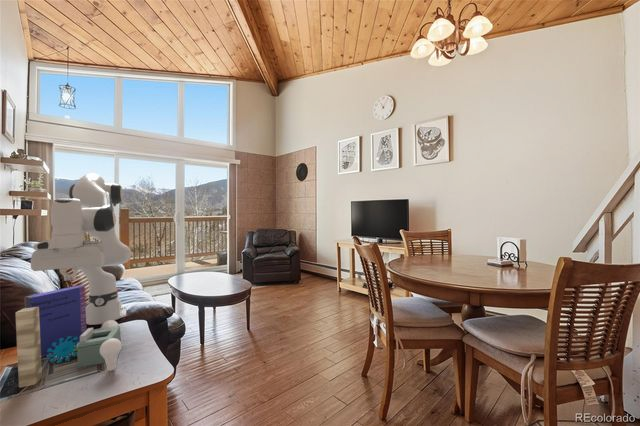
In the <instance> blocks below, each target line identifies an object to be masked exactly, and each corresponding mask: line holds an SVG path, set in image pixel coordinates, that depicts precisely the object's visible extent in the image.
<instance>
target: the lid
mask: <svg viewBox="0 0 640 426" xmlns="http://www.w3.org/2000/svg"><path fill="white" fill-rule="evenodd" d="M119 331H120V332H121V326H118V327H115V328H109V329H103V330H100V329H97V330H94V327H88V328H87V330H86V331H85V332H84V333H83V334H82V335H81V336H80V342H79V343H78V344H76V346H77V348H79V347H84V346H90V345H96V344H101V343H104V342H105V341H106V340H108V339H111V338H114V337H115V336H116V335H117V333H118V332H119ZM106 334H109V335H108V336H106V337H101V338H95V339H92V338H93V337H94V336H100V335H106Z"/></svg>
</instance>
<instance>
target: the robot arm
mask: <svg viewBox="0 0 640 426" xmlns="http://www.w3.org/2000/svg"><path fill="white" fill-rule="evenodd" d="M124 195H125V192H124V189H123V187H122V185H120V184H118V183H114V182H111V183H107V182H105V180H104V178H103V177H102V176H101V175H99V174H96V173H88V174H87V173H86V174H84V175H83V176H81V177H80V178H79V179H78V180H77V182H75V183H74V184H71V186H70V187H69V190H68V198H67V197H66V198H65V197H64V198H56V199H55V200H53V201H52V203H51V210H50V224H51V226H52V231H51V238H50V239H46V240H44V241H41V242H37V243H34V244H33V246H32V247H33V250H35V251H33V252H32V253H31V257H30V269H31V271H33V272H40V271H49V270H51V271H52V270H59V273H60V275H61V276H62V277H63V281H64V282H68V281H76V280H77V275H78V273H79V271H80V272H82V273H83V274H84V275H85V277H86V279H87V281H88V288H89V289H88V290H89V295H88V304H87V305H86V325H89V326H90V325H91V326H92V325H95V326H96V325H103V323H105V322H106V321H108V320H113V321H116V320H119V319H122V318H124V317H125V318H126V316H127V311H126V309H127V308H126V309H123V308H124V307H123V306H122V305H123V304H122V300H121V299H120V298H119V293H118V292H119V290H118V289H117V280H116V279H117V278H116V276H115V275H114V274H113V273H110V272H107V271H104V269H103V268H102V267H110V266H111V267H113V266H118V265H122V264H126V263H128V262H129V261H130V260H131V258H132V257H131V256H132V251H131V248H130V247H129V246H128V245H126V244H125V243H123V242H122V241H120V239H119V238H118V236H117V234H116V227H115V226H116V222H117V216H116V214H115V211H114V207H116V206H117V205H118V204H120V203H121V202H122V201H123V199H124ZM82 206H83V207H82ZM85 233H88V235H89V236H90V237H91V238H93V239H96V240H85ZM99 240H100V241H99ZM68 269H72V271H73V273H72V274H68V273H67V271H68Z"/></svg>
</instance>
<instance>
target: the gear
mask: <svg viewBox="0 0 640 426" xmlns="http://www.w3.org/2000/svg"><path fill="white" fill-rule="evenodd" d="M71 338H72V336H68V337H67V339H66V341H65V342H63V343H62V341H64V338H60V339H59V341H60V343H59V345H58V346H56V345H57V343H56V342H54V343H52V346H54V347H55V350H52V349H51V348H49V349H48V350H47V352H48V353H49V352H53V353H51V354H48V355H46V358H47V359H49V361H50V362H51V364H53V363H55V362H56V364H62V363H63V360H64V361H65V362H70V361H71V358H70V355H71V354H72V357H73V358H75V357H77V344H78V343H79V342H80V341H78V342H74V343H72V342H73V341H77V340H78V338H77V337H74V339H72V340H71V341H68V340H70V339H71ZM75 344H76V345H75ZM64 358H65V359H64Z"/></svg>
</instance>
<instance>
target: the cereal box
mask: <svg viewBox="0 0 640 426" xmlns="http://www.w3.org/2000/svg"><path fill="white" fill-rule="evenodd" d="M86 306H87V305H86V290H85V286H84V285H81V284H80V285H74V286H70V287H65V288H61V289H60V288H59V289H56V290H51V291H46V292H42V293H35V294H31V295H28V296H27V295H26V296H24V309H25V308H32V307H39V321H40V343H41V358H43V357H45V356H46V357H47V355H48V354H51V355H52V354H54V353H53V352H49V353H48V352H47V350H48V349H49V348H51V349H52V350H55V347H54V346H52V343H54V342H56V343H57V345H56V346H58V345H59V343H60V341H59V339H60V338H64V341H62V343H63V342H65V341H66V339H67V337H68V336H72V338H71V339H70V340H68V341H71V340H72V339H74V337H77V338H78V340H77V341H73V342H72V343H74V342H78V341H80V336H81V335H82V334H83V333H84V332H85V331H86V330H87V329H88V328H87V324H86ZM74 346H77V344H75V345H74Z"/></svg>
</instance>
